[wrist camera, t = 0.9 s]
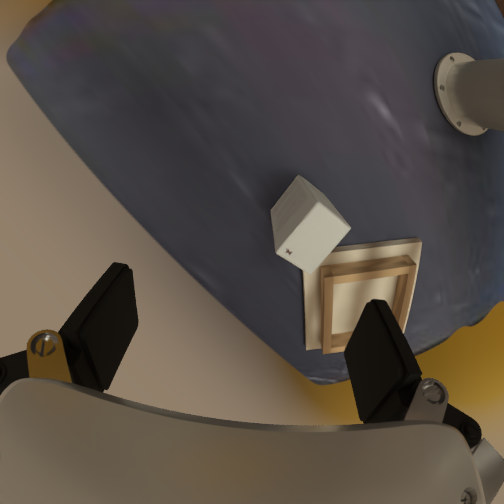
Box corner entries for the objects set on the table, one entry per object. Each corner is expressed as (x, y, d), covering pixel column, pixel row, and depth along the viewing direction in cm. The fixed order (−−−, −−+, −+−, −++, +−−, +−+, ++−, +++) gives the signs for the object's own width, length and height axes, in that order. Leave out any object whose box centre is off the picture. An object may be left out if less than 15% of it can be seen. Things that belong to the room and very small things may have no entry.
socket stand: (417, 237, 36) (431, 251, 32) (400, 327, 44) (409, 344, 40) (301, 250, 38) (305, 267, 34) (305, 343, 46) (308, 363, 42)
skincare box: (295, 228, 36) (309, 277, 26) (269, 210, 35) (273, 253, 25) (325, 192, 34) (353, 229, 23) (298, 172, 33) (317, 200, 22)
